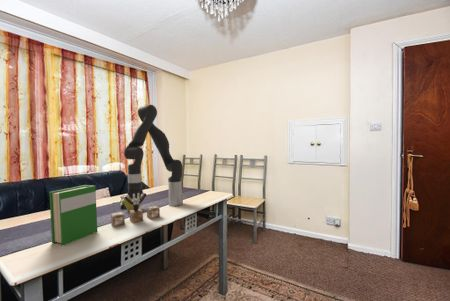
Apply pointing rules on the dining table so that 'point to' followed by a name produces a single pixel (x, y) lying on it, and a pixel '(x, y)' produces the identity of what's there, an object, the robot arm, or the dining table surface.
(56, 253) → the dining table surface
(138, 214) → the plain block
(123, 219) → the labelled block
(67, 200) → the hardback book
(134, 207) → the robot arm
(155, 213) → the labelled block
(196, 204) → the dining table surface
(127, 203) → the flower pot
